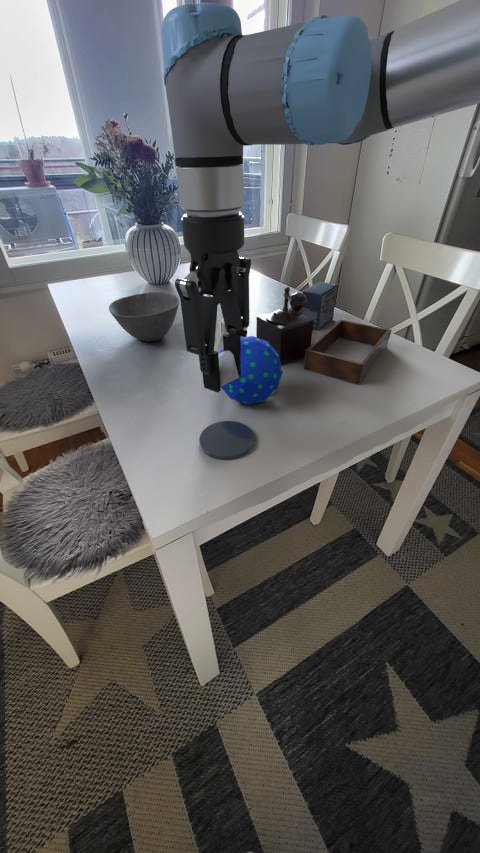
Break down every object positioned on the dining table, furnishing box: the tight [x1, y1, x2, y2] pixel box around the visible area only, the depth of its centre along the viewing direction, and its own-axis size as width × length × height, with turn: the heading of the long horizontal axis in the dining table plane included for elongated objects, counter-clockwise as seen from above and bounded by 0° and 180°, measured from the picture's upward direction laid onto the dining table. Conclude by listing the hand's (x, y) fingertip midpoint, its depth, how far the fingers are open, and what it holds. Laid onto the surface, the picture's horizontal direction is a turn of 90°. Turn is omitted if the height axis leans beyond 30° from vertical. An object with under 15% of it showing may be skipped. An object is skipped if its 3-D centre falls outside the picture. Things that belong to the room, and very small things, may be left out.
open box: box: [303, 319, 392, 386], centre depth 85 cm, size 14×22×5 cm, turn 146°
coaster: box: [198, 420, 255, 461], centre depth 63 cm, size 10×10×1 cm
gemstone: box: [218, 351, 239, 386], centre depth 55 cm, size 6×6×5 cm
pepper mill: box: [255, 286, 314, 365], centre depth 83 cm, size 16×11×18 cm
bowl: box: [108, 291, 180, 342], centre depth 96 cm, size 19×19×10 cm
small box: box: [302, 281, 338, 331], centre depth 102 cm, size 11×6×10 cm, turn 144°
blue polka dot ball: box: [219, 335, 283, 405], centre depth 72 cm, size 14×14×15 cm
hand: (222, 380), depth 55 cm, fingers closed on gemstone, 5 cm apart
